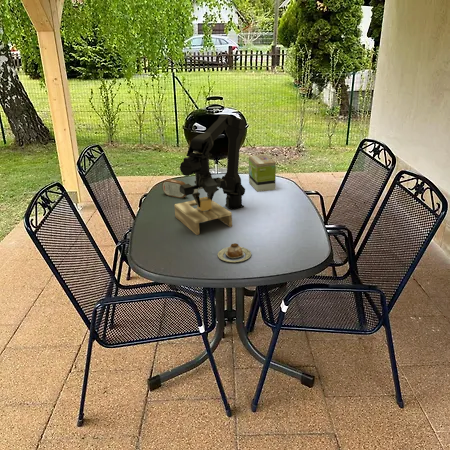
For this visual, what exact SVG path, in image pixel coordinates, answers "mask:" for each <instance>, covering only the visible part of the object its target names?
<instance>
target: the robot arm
mask: <svg viewBox="0 0 450 450" xmlns="http://www.w3.org/2000/svg"><path fill="white" fill-rule="evenodd" d="M246 127H247V124H246V121H245V120H244V118H236V117H233V116H231V115H227V114H221V115H219V116H218V118H217V119H216V120H215V121H214V122H213V123H212V124H211V125H210V126H209V128H208V129H206V131H205V132H203V133H200V134H198V135H196V136H194V137H193V138H192V139H191V141H190V143H189V146H188V150H187V152H186V157H184V158H183V159H182V160H183V161H182V162H181V163H180V165H179V170H180V173H181V174H182V175H183V176H185V177H189V176H192V175H195V180H194V184H193V185H191V184H189V183H185V184H184V185H181V186H180V188H179V189H180V192H181V193H182V194H184V195H187V196H190V195H191V196H192V198H193V200H195V201H196V203H197V205H198V207H200V199H199V198H200V195H201V193H200V192H199V190H202V189H203V190H204V191H203V192H204V193H206V195H207V196H206V197H208V198H209V199H211V202H212V200H213V197H214V195H215V194H216V193H217V192H218V191H219V189H222V191H223V192H222V193H223V194H225V195H226V197H225V205H224V206H225V207H227V208H228V209H230V210H236V209H241V208H244V205H243V196H244V195H245V192H246V188H245V187H244V186H243V184H242V178H241V177H240V174H239V163H240V150H241V148H240V147H241V139H242V138H243V137H244V135H245V132H246ZM224 131H225V133H226V134H225V135H226V136H227V138H228V148H227V149H228V150H227V151H228V152H227V164H226V172H225V174H224V175H222V177H219V176H218V177H213V176H212V172H211V171H210V157H212V155H213V154H212V153H211V152H210V151H211V150H212V149H213V147H214V142H215V140H217V138H218V137H219V136H221V134H222V133H223V132H224ZM197 205H196V206H197Z"/></svg>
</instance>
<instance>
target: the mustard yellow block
mask: <svg viewBox="0 0 450 450" xmlns="http://www.w3.org/2000/svg"><path fill="white" fill-rule="evenodd" d="M199 199H200V207H198V205H196V208H198V209H199V210H201V211H202V212H203V213H204V212H208V210H209V209H212V206H211V199H209V198H208V197H207V196H204V197H199Z"/></svg>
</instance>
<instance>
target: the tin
mask: <svg viewBox="0 0 450 450" xmlns="http://www.w3.org/2000/svg"><path fill="white" fill-rule="evenodd" d="M184 184H186V183H185V182H184V181H183V180H178V179H172V178H166V179H165V180H164V181H163V182H162V183H161V189H162V191H163V193H164V194H165V195H166V196H169V197H174V198H177V199H184V198H185V197H187V196H188V195H184V194H182V193H181V192H180V189H179V188H180V186H181V185H184Z"/></svg>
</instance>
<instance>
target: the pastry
mask: <svg viewBox="0 0 450 450" xmlns="http://www.w3.org/2000/svg"><path fill="white" fill-rule="evenodd" d="M224 255H226V256H227V257H228V258H229V259H227V258H225V257H224ZM244 255H245V256H244ZM243 256H244V257H243ZM251 256H252V252H251V250H250V249H248V248H246V247H242V246H240V245H239V244H238V243H231V244H230V246H228V247H223V248H222V249H221V250H219V251H218V252H217V257H218V259H220V260H221V261H223V262H226V263H233V264H236V263H239V262H240V263H241V262H244V261H246V260H249V258H251ZM241 257H243V258H241ZM239 258H241V259H239ZM230 259H237V260H230Z"/></svg>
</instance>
